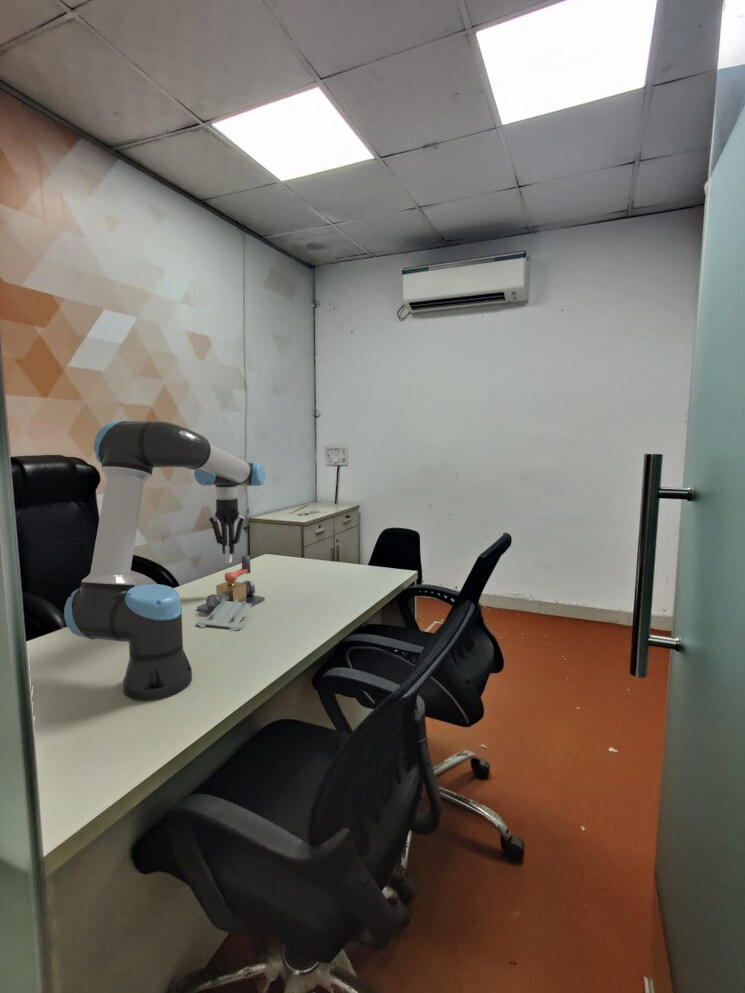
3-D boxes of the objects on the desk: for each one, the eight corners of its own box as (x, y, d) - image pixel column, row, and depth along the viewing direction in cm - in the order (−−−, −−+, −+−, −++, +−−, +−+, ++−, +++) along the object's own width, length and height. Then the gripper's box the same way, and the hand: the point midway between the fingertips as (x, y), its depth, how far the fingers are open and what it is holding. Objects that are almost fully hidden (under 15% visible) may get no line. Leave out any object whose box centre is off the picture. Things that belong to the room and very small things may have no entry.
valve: (228, 617, 157) (227, 591, 156) (197, 610, 163) (196, 584, 162) (264, 600, 173) (263, 576, 172) (234, 594, 179) (234, 570, 178)
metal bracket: (216, 593, 161) (258, 598, 158) (219, 608, 163) (260, 612, 160) (193, 621, 148) (238, 626, 145) (196, 636, 151) (240, 642, 148)
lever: (232, 581, 164) (231, 564, 163) (222, 580, 166) (221, 563, 165) (253, 571, 176) (252, 555, 175) (244, 570, 177) (243, 554, 176)
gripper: (204, 499, 169) (207, 564, 172) (241, 499, 169) (243, 565, 172) (213, 496, 177) (215, 559, 180) (248, 497, 176) (249, 560, 179)
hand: (228, 562), depth 176 cm, fingers closed
